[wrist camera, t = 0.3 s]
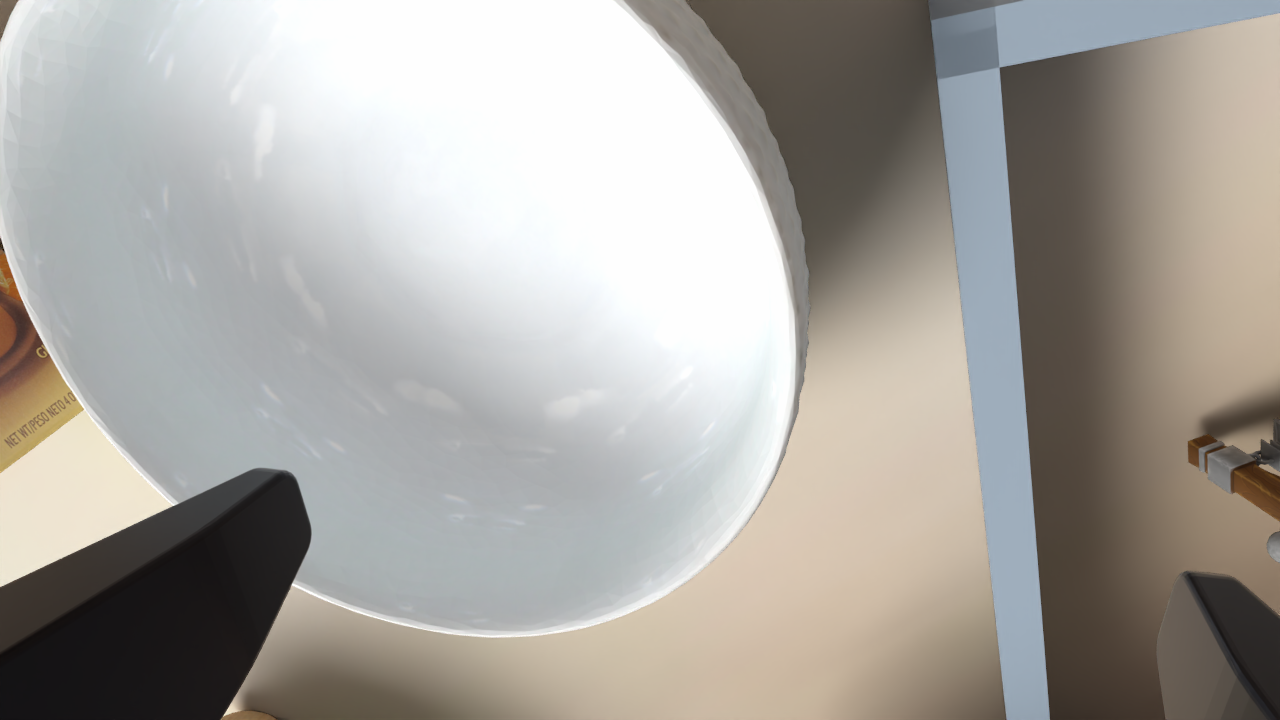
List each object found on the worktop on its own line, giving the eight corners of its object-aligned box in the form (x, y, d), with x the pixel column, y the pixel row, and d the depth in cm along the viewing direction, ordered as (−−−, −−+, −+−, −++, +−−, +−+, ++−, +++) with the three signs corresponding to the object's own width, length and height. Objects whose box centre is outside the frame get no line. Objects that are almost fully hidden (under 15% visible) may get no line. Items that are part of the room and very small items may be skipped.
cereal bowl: (818, -231, 17) (776, -241, 12) (838, 474, 26) (819, 676, 20) (93, -116, 22) (-200, -81, 16) (307, 452, 30) (164, 611, 24)
